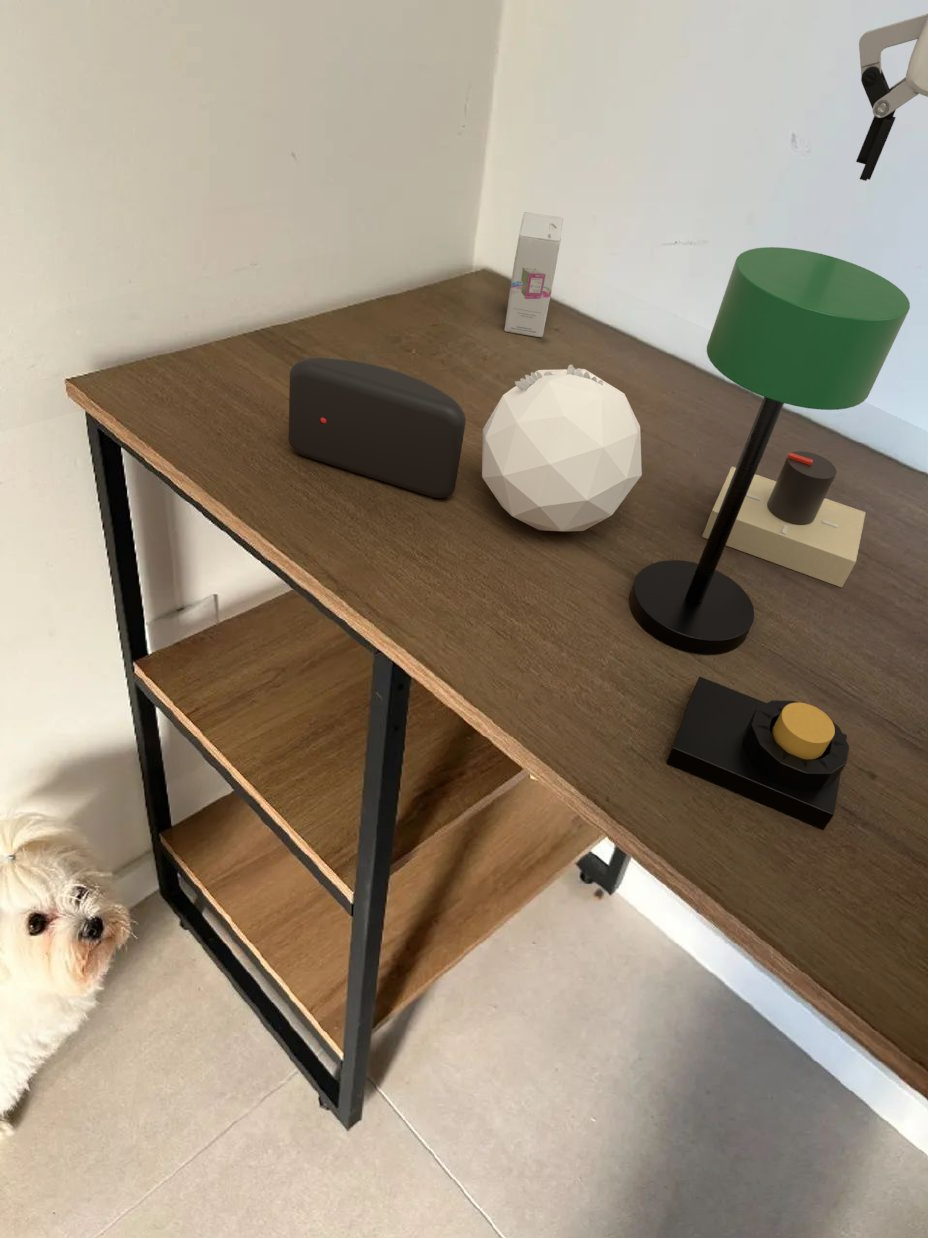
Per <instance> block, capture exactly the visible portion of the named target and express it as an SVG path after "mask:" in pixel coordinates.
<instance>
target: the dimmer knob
mask: <svg viewBox="0 0 928 1238" xmlns="http://www.w3.org/2000/svg"><path fill="white" fill-rule="evenodd" d="M836 475H837V467H836V466H835V465H834V464H833V463H832V462H831V461H830V460H829V459H827V458H825V457H824V456H822V455H819V454H817V453H815V452H810V451H804V450H802V451H801V450H796V451H792V452H789V453H788V455H787V456H786V458H785V461H784V463H783V465H782V468H781V471H780V472H779V474H778V477H777V480H776V484H775V486H774V489H773V491H772V493H771V496H770V498H769V500H768V503H767V506H768V509H769V510H770V512H771V513H772V514H773V515H775V516H776V517H777V518H779V519H781V520H783V521H785V522H788V523H792V524H796V525H806V524H810V523H812V522H813V521H814V519H815V517H816V515H817V513H818V511H819V509H820V507H821V505H822V503H823V501H824V498H826V497H827V494H828V492H829V490H830V488H831V486H832V484H833V482H834V480H835V478H836Z"/></svg>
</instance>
